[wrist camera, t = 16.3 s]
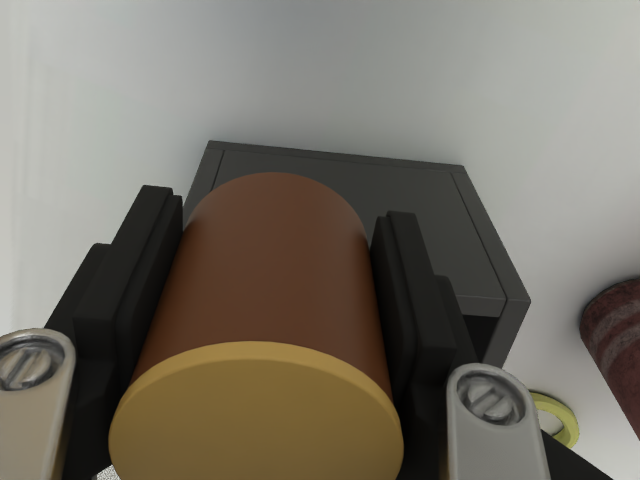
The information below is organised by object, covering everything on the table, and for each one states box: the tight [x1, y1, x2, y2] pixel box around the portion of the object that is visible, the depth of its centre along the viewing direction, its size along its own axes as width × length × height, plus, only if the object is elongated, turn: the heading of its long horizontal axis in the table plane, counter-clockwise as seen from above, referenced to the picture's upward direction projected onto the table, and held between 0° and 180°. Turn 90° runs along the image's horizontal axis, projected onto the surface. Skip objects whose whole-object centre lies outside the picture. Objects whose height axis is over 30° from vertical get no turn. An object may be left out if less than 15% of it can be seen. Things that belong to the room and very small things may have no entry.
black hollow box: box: [183, 141, 531, 369], centre depth 27 cm, size 16×13×10 cm
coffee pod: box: [108, 172, 404, 480], centre depth 10 cm, size 4×4×5 cm
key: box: [530, 392, 579, 449], centre depth 40 cm, size 7×12×2 cm, turn 164°
